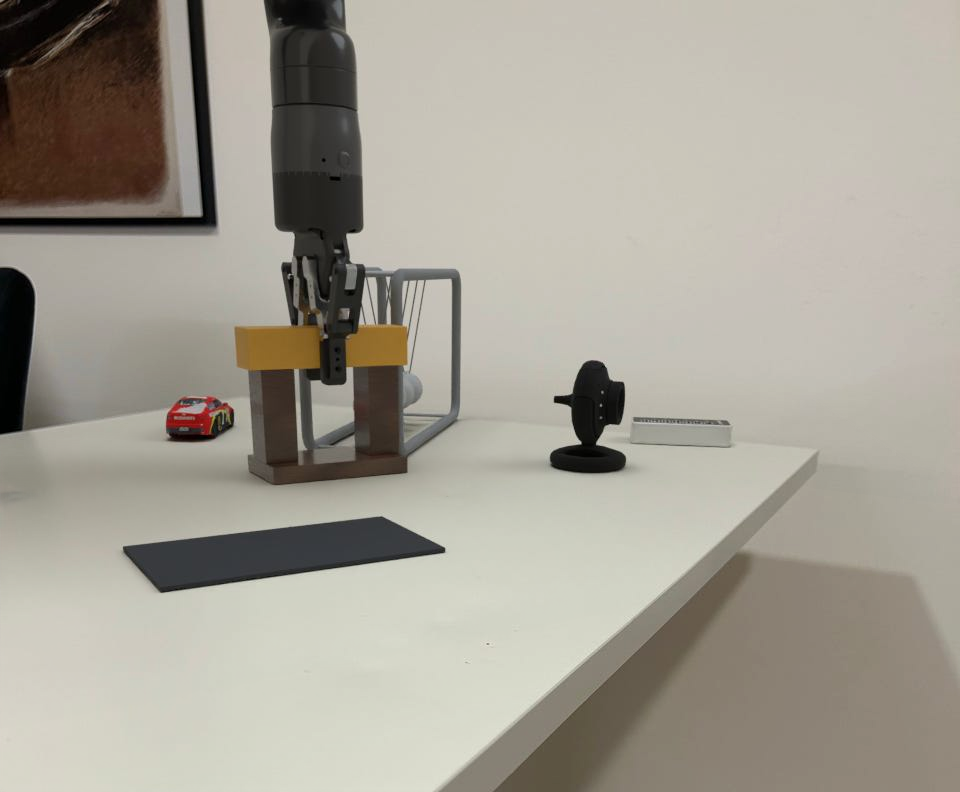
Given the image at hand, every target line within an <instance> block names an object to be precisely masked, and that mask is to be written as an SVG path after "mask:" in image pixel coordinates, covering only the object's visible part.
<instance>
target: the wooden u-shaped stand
mask: <svg viewBox="0 0 960 792" xmlns="http://www.w3.org/2000/svg"><path fill="white" fill-rule="evenodd" d="M247 373H248V374H247V375H248V388H249V389H248V391H249V405H250V406H249V407H250V420H251V421H250V423H251V437H252V439H251V440H252V453H251V454H247V468H248V471H249V472H250V473H252V474H254V475H256V476H258V477H259V478H261V479H263V480H265V481H267V482H268V483H270V484H272V485H274V486H275V485H276V486H277V485H286V484H288V485H289V484H297V483H298V484H299V483H309V482H318V481H320V482H321V481H328V480H329V481H331V480H339V479H351V478H360V477H361V478H362V477H373V476H382V475H384V476H385V475H394V474H403V473H408V455H406V456H405V455H402V454H399V400H398V366H369V367H352V384H353V385H352V388H353V401H354V410H353V421H354V427H355V432H354V446H350V447H340V448H327V449H314V450H307V449H303V450H301V449H300V450H299V442H298V422H297V421H298V419H297V400H296V399H297V398H296V379H295V378H296V377H295V369H284V370H256V371H249V370H247Z"/></svg>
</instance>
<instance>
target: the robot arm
mask: <svg viewBox="0 0 960 792" xmlns="http://www.w3.org/2000/svg"><path fill="white" fill-rule="evenodd" d="M263 7H264V12H265V19H266V25H267V30H268V36H269V75H270V77H269V79H270V95H271V97H270V98H271V108H272V109H271V124H270V125H271V126H270V155H271V158H270V159H271V161H270V162H271V178H272V180H271V182H272V195H273V196H272V197H273V200H272V201H273V218H274V226H275V228H276V229H277V230H278V232H282V233H293V236H294V239H293V249H292V258H291V261H283V262H281V266H280V270H281V271H280V272H281V276H282V281H283V287H284V292H285V298H286V303H287V304H286V305H287V309H288V316H289V321H290V326H306V325H318V332H319V338H320V340H321V341H319V349H320V368H313V369H304V377H305V378H306V379H307V380H310V381H311V382H314V381H315V382H316V381H320V383H322V384H323V385H325V386H330V387H331V386H344V385H345V384H346V383H347V381H348V380H347V379H348V378H347V375H348V374H347V373H348V371H347V367H346V341H345V340H349V338H350V334H357V332H358V326H359V325H360V317H361V312H362V308H361V304H362V305H363V296H364V289H365V288H364V287H365V281H366V278H365V274H366V271H365V267H366V266H365V265H364V264H363V263H353V262H352V261H351V253H350V247H349V244H348V243H349V242H348V238H347V237H348V236H347V235H353V234H354V235H355V234H360V233H361V232H362V231H363V230H364V226H365V225H364V223H365V221H364V182H363V181H364V180H363V144H362V135H361V128H360V121H359V119H360V118H359V113H358V111H359V96H358V95H359V93H358V87H359V86H358V65H357V64H358V63H357V54H356V49H355V44H354V41H353V39H352V38H351V36H350V35H349V34H348V33H347V17H346V0H263Z"/></svg>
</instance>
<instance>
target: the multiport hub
mask: <svg viewBox="0 0 960 792" xmlns="http://www.w3.org/2000/svg"><path fill="white" fill-rule="evenodd" d="M732 434H733V425H732V423H731V422H730V421H729V420H726V419H705V418H704V419H702V418H700V419H699V418H678V417H677V418H675V417H674V418H673V417H650V416H649V417H648V416H633V417H631V418H630V430H629V443H630V444H645V445H646V444H647V445H669V446H671V445H672V446H694V447H718V448H719V447H721V448H729V447H731V443H732V442H731V441H732V436H733V435H732Z"/></svg>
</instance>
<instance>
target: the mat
mask: <svg viewBox="0 0 960 792" xmlns="http://www.w3.org/2000/svg"><path fill="white" fill-rule="evenodd" d="M122 551H123V552H124V553H125V554H126V555H127V556H128V558H129V559H130V560H131V561H132V562H133V563H134V564H135V566H137V568H139V570H140V571H141V572H142V573H143V574H144V575H145V576H146V577H147V578H148V579H149V581H150V580H151V581H150V582H151V583H152V584H153V585H154V586H155V587H156V588H157V590H158V591H159V592H160V591H161V592H160V593H163V592H169V591H170V590H171V591H176V590H175V589H178V590H184V588H185V589H192V588H197V587H205V586H212V585H213V586H214V585H219V584H226V583H227V584H228V583H233V582H232V581H234V582H239V581H238V580H242V581H247V580H246V579H249V580H252V579H251V578H256V579H259V578H258V577H263V578H268V577H267V576H270V577H274V576H273V575H277V576H282V574H284V575H291V574H297V572H298V573H305V572H311V571H318V570H327V569H333V568H340V567H347V566H355V565H362V564H368V563H374V562H376V563H377V562H382V561H383V562H384V561H390V560H398V559H404V558H411V557H419V556H424V555H433V554H439V553H446V547H445V546H443V545H441V544H439V543H437V542H435V541H432V540H431V539H429V538H426V537H425V536H422V535H420V534H418V533H417V532H415V531H413V530H410V528H409V529H408V528H407V527H404V526H403V525H401V524H400V523H399V524H398V523H397V522H394V521H392V520H391V519H389V518H386V517H384V516H382V515H380V516H372V517H364V518H354V519H346V520H337V521H330V522H329V521H328V522H321V523H312V524H311V523H310V524H302V525H295V526H293V525H292V526H286V527H285V526H284V527H277V528H269V529H260V530H259V529H258V530H251V531H242V532H233V533H226V534H218V535H209V536H208V535H207V536H200V537H192V538H191V537H190V538H183V539H174V540H173V539H172V540H166V541H158V542H157V541H156V542H149V543H141V544H131V545H124V546H122ZM287 573H288V574H287ZM290 573H291V574H290ZM181 588H182V589H181ZM162 591H163V592H162Z"/></svg>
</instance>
